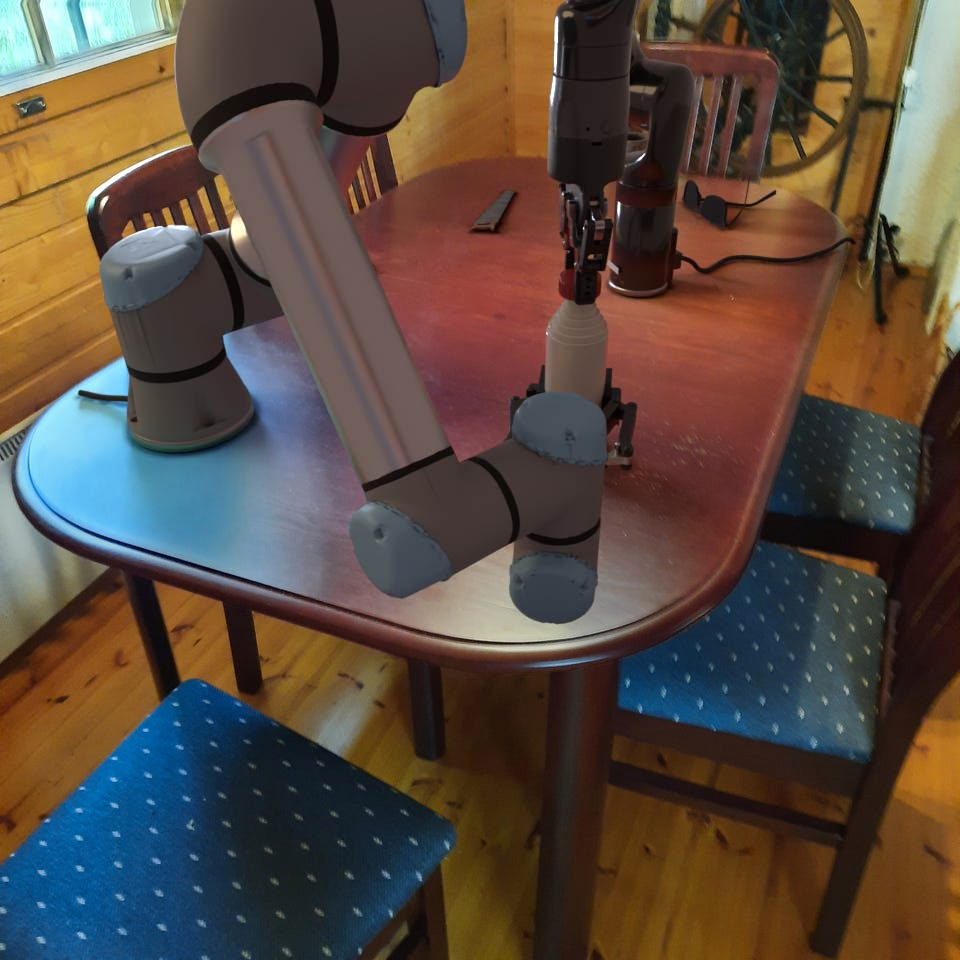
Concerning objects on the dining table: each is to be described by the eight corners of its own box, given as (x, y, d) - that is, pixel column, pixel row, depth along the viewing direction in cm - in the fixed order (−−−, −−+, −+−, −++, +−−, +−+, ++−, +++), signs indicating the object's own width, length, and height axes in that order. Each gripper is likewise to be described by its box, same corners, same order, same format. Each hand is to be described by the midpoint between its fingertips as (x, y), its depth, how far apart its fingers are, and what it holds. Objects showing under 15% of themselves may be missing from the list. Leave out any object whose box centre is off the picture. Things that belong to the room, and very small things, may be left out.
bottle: (562, 467, 99) (570, 299, 86) (532, 438, 104) (535, 276, 91) (611, 450, 101) (626, 285, 89) (579, 423, 106) (589, 263, 94)
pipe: (587, 172, 186) (589, 134, 181) (645, 169, 187) (649, 131, 182) (593, 181, 181) (595, 142, 176) (652, 178, 182) (656, 139, 177)
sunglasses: (787, 221, 160) (792, 194, 157) (718, 230, 157) (722, 203, 154) (740, 193, 173) (744, 168, 170) (675, 201, 170) (678, 176, 167)
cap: (575, 281, 93) (576, 263, 92) (609, 292, 91) (610, 274, 90) (550, 294, 91) (550, 276, 90) (583, 305, 88) (584, 288, 87)
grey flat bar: (493, 190, 178) (493, 187, 178) (515, 191, 177) (515, 188, 177) (468, 231, 159) (468, 228, 159) (493, 232, 158) (493, 229, 158)
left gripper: (465, 513, 88) (494, 398, 106) (661, 528, 85) (657, 407, 104) (462, 454, 83) (494, 344, 102) (669, 467, 81) (663, 352, 99)
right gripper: (535, 108, 86) (532, 270, 96) (564, 148, 75) (558, 326, 85) (608, 104, 87) (597, 265, 97) (648, 143, 75) (631, 320, 86)
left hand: (576, 376), depth 103 cm, fingers closed on bottle, 7 cm apart
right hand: (579, 293), depth 91 cm, fingers closed on cap, 4 cm apart
